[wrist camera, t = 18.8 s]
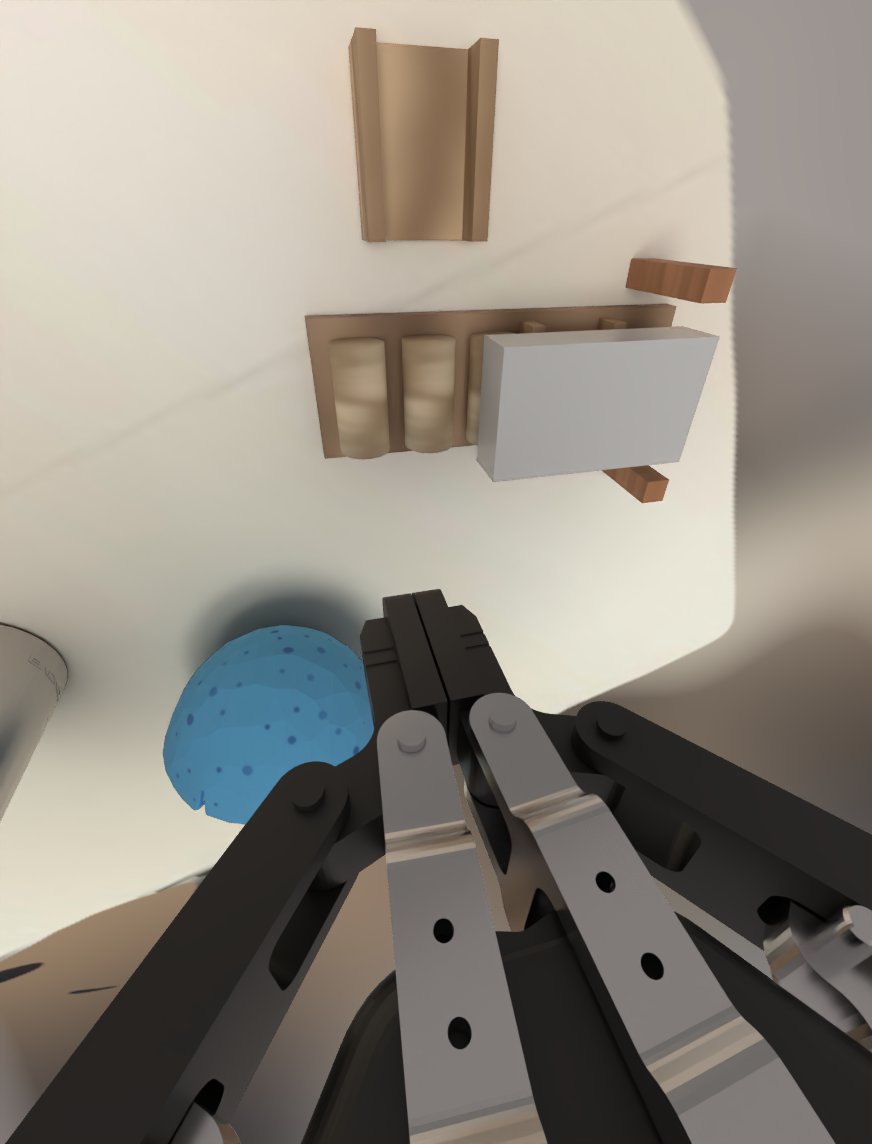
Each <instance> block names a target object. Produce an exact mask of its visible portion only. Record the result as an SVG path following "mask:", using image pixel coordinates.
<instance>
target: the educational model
mask: <svg viewBox="0 0 872 1144" xmlns="http://www.w3.org/2000/svg"><path fill="white" fill-rule="evenodd" d="M373 731H374V726H373V721H372V715H371V709H370V703H369V698H368V692H367V686H366V680H365V673H364V665H363V662H362V661H361V660H360V659H359V658H358V657H357V655H356V654H355V653H354V652H353V651H352V650H351V649H350V648H349V647H347V646H346V645H344V644H343V643H341V642H340V641H338V640H337V639H335V638H334V637H332V636H331V635H329V634H327V633H324V632H321V631H318V630H315V629H312V628H307V627H300V626H291V625H278V626H272V627H266V628H260V629H257V630H254V631H252V632H250V633H248V634H245V635H243V636H241V637H238V638H236V639H234V640H231V641H229V642H227V643H226V644H225V645H224V646H222V647H221V648H220V649H219V650H218V651H216V652H215V653H214V654H213V655H212V656H211V657H209V658H208V659H207V660H206V661H205V662H204V663H203V664H202V665H201V666H200V667H199V668H198V670H197V671H196V672H195V673H194V675H193V676H192V677H191V679H190V680H189V682H188V683H187V685H186V687H185V688H184V690H183V692H182V695H181V697H180V699H179V701H178V703H177V706H176V708H175V710H174V712H173V715H172V718H171V721H170V724H169V727H168V730H167V733H166V736H165V743H164V749H163V758H164V764H165V770H166V772H167V774H168V777H169V779H170V781H171V783H172V785H173V787H174V788H175V790H176V791H177V792H178V794H179V795H180V797H181V798H182V799H183V800H184V801H185V802H186V803H187V804H188V805H189V806H190V807H191V808H192V809H193V810H198V809H200V808H201V807H202V806H203V805H204V804H205V811H206V815H208V816H211V817H214V818H217V819H220V820H223V821H226V822H229V823H238V824H246V823H247V822H248V820H249V819H250V818H251V816H252V815H253V814H254V812H255V811H256V810H257V808H258V807H259V806H260V805H261V803H262V802H263V801H264V799H265V798H266V797H267V795H268V794H269V793H270V791H271V790H272V789H273V787H274V786H275V785H276V783H277V782H278V781H279V780H280V778H281V777H282V776H283V775H284V774H285V773H287V772H288V771H289V770H291V769H292V768H294V767H296V766H298V765H300V764H303V763H306V762H312V761H320V762H326V763H329V764H331V765H333V766H337V765H338V764H340V763H342V762H344V761H346V760H347V759H349V758H351V757H353V756H354V755H356V754H357V753H358V752H360V751H361V750H362V749H363V748H364V747H365V746H366V745H367V743H368V742H369V740H370V739H371V737H372V734H373Z"/></svg>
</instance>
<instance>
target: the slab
mask: <svg viewBox="0 0 872 1144" xmlns="http://www.w3.org/2000/svg"><path fill="white" fill-rule="evenodd" d="M718 340H719V336H715V335H712V334H708V333H705V332H701V331H697V330H694V329H690V328H687V327H683V326H682V327H659V328H636V329H613V330H590V331H568V332H545V333H522V334H499V335H484V349H483V366H482V383H481V399H480V416H479V433H478V450H477V461H478V463H479V464H480V465H481V467H482V468H483V469H484V471H485V472H486V473H487V474H488V476H489V477H490V478H491V480H492V481H493V482H496V481H505V480H515V479H524V478H533V477H543V476H552V475H561V474H571V473H580V472H589V471H599V470H608V469H617V468H627V467H636V466H645V465H655V464H664V463H673V462H679V460H680V457H681V454H682V451H683V448H684V445H685V441H686V438H687V435H688V432H689V429H690V426H691V423H692V420H693V417H694V414H695V411H696V408H697V405H698V402H699V398H700V395H701V392H702V389H703V386H704V383H705V380H706V377H707V374H708V371H709V368H710V365H711V362H712V359H713V355H714V352H715V349H716V346H717V343H718Z"/></svg>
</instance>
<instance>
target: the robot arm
mask: <svg viewBox="0 0 872 1144" xmlns="http://www.w3.org/2000/svg"><path fill="white" fill-rule="evenodd" d="M383 615H384V618H380V619H373V620H367V621H366V622H365V624H364V627H363V630H362V632H361V635H360V640H361V649H362V657H363V665H364V673H365V680H366V686H367V692H368V698H369V703H370V709H371V715H372V721H373V726H374V731H373V734H372V737H371V739H370V740H369V742H368V743H367V745H366V746H365V747H364V748H363V749H362V750H361V751H360V752H358V753H357V754H356V755H354V756H353V757H351V758H349V759H347V760H346V761H344V762H342V763H340V764H338V765H337V766H333V765H331V764H329V763H326V762H320V761H312V762H306V763H303V764H300V765H298V766H296V767H294V768H292V769H291V770H289V771H288V772H287V773H285V774H284V775H283V776H282V777H281V778H280V780H279V781H278V782H277V783H276V785H275V786H274V787H273V789H272V790H271V791H270V793H269V794H268V795H267V797H266V798H265V799H264V801H263V802H262V803H261V805H260V806H259V807H258V808H257V810H256V811H255V812H254V814H253V815H252V816H251V818H250V819H249V820H248V822H247V823H246V824H245V826H244V827H243V828H242V830H241V831H240V832H239V834H238V835H237V836H236V838H235V839H234V840H233V842H232V843H231V844H230V846H229V847H228V848H227V850H226V851H225V852H224V854H223V855H222V856H221V858H220V859H219V860H218V862H217V863H216V864H215V866H214V867H213V868H212V870H211V871H210V872H209V874H208V875H207V876H206V878H205V879H204V880H203V882H202V883H201V884H200V886H199V887H198V888H197V890H196V891H195V892H194V894H193V895H192V896H191V898H190V899H189V900H188V901H187V903H186V904H185V906H184V907H183V908H182V909H181V911H180V912H179V913H178V915H177V916H176V917H175V919H174V920H173V922H172V923H171V924H170V925H169V927H168V928H167V929H166V931H165V932H164V933H163V935H162V936H161V937H160V939H159V940H158V942H157V943H156V944H155V945H154V947H153V948H152V949H151V951H150V952H149V953H148V955H147V956H146V957H145V959H144V960H143V962H142V963H141V964H140V965H139V967H138V968H137V969H136V971H135V972H134V973H133V975H132V976H131V977H130V979H129V980H128V981H127V983H126V984H125V985H124V987H123V988H122V989H121V990H120V992H119V993H118V995H117V996H116V997H115V998H114V1000H113V1001H112V1002H111V1004H110V1005H109V1007H108V1008H107V1009H106V1011H105V1012H104V1013H103V1014H102V1016H101V1017H100V1019H99V1020H98V1021H97V1022H96V1024H95V1025H94V1027H93V1028H92V1029H91V1031H90V1032H89V1033H88V1034H87V1036H86V1037H85V1038H84V1040H83V1041H82V1042H81V1044H80V1045H79V1046H78V1048H77V1049H76V1050H75V1052H74V1053H73V1054H72V1056H71V1057H70V1058H69V1060H68V1061H67V1062H66V1064H65V1065H64V1066H63V1068H62V1069H61V1070H60V1072H59V1073H58V1074H57V1076H56V1077H55V1078H54V1079H53V1081H52V1082H51V1083H50V1085H49V1086H48V1088H47V1089H46V1090H45V1092H44V1093H43V1094H42V1095H41V1097H40V1098H39V1100H38V1101H37V1102H36V1104H35V1105H34V1106H33V1107H32V1109H31V1110H30V1111H29V1113H28V1114H27V1115H26V1117H25V1118H24V1119H23V1121H22V1122H21V1123H20V1125H19V1126H18V1127H17V1129H16V1130H15V1131H14V1133H13V1134H12V1135H11V1137H10V1138H9V1139H8V1141H7V1142H6V1143H5V1144H241V1143H240V1141H239V1138H238V1136H237V1134H236V1133H235V1131H234V1129H233V1128H232V1127H231V1126H230V1125H229V1122H230V1120H231V1118H232V1116H233V1114H234V1112H235V1110H236V1108H237V1106H238V1104H239V1102H240V1101H241V1099H242V1097H243V1095H244V1093H245V1091H246V1089H247V1087H248V1085H249V1083H250V1081H251V1079H252V1077H253V1075H254V1074H255V1072H256V1070H257V1068H258V1066H259V1064H260V1062H261V1060H262V1058H263V1056H264V1055H265V1053H266V1051H267V1049H268V1047H269V1045H270V1043H271V1041H272V1039H273V1037H274V1035H275V1034H276V1031H277V1030H278V1028H279V1026H280V1024H281V1022H282V1020H283V1018H284V1016H285V1014H286V1012H287V1011H288V1009H289V1007H290V1005H291V1003H292V1001H293V999H294V997H295V995H296V993H297V991H298V989H299V988H300V986H301V984H302V982H303V980H304V978H305V976H306V974H307V972H308V970H309V968H310V966H311V964H312V962H313V961H314V959H315V957H316V955H317V953H318V951H319V949H320V947H321V945H322V943H323V941H324V940H325V938H326V936H327V934H328V932H329V930H330V928H331V926H332V924H333V922H334V921H335V919H336V917H337V915H338V913H339V911H340V909H341V907H342V905H343V903H344V901H345V899H346V898H347V896H348V894H349V892H350V890H351V888H352V886H353V884H354V882H355V880H356V878H357V876H358V873H359V872H360V871H362V870H363V869H364V868H366V867H368V866H369V865H370V864H372V863H373V862H375V861H376V860H378V859H379V858H381V857H382V856H384V855H385V854H386V862H387V873H388V886H389V899H390V911H391V922H392V934H393V946H394V958H395V970H394V971H392V972H391V973H390V974H389V975H388V976H387V977H386V978H385V979H384V980H383V981H381V982H380V983H379V984H378V986H377V987H376V988H375V989H374V990H373V991H372V993H371V994H370V995H369V996H368V997H367V999H366V1000H365V1002H364V1004H363V1005H362V1006H361V1008H360V1009H359V1011H358V1012H357V1014H356V1015H355V1017H354V1019H353V1021H352V1023H351V1025H350V1026H349V1029H348V1030H347V1032H346V1034H345V1037H344V1039H343V1042H342V1044H341V1046H340V1048H339V1051H338V1054H337V1056H336V1058H335V1061H334V1063H333V1066H332V1068H331V1071H330V1073H329V1076H328V1078H327V1081H326V1083H325V1086H324V1088H323V1091H322V1093H321V1095H320V1098H319V1100H318V1103H317V1105H316V1108H315V1110H314V1113H313V1115H312V1118H311V1120H310V1123H309V1125H308V1128H307V1130H306V1133H305V1135H304V1138H303V1140H302V1142H301V1144H872V835H871V834H869V833H867V832H865V831H863V830H861V829H860V828H857V827H856V826H854V825H852V824H850V823H848V822H846V821H844V820H842V819H840V818H838V817H836V816H834V815H832V814H830V813H828V812H826V811H824V810H823V809H820V808H819V807H817V806H814V805H813V804H811V803H809V802H807V801H805V800H803V799H801V798H799V797H797V796H795V795H793V794H791V793H789V792H787V791H785V790H783V789H782V788H779V787H778V786H776V785H774V784H772V783H770V782H768V781H766V780H764V779H762V778H760V777H758V776H756V775H754V774H752V773H750V772H748V771H746V770H744V769H742V768H741V767H738V766H737V765H735V764H733V763H731V762H729V761H727V760H725V759H723V758H721V757H719V756H717V755H715V754H713V753H711V752H709V751H708V750H706V749H704V748H702V747H700V746H698V745H696V744H694V743H692V742H690V741H688V740H686V739H684V738H682V737H680V736H678V735H676V734H674V733H672V732H670V731H669V730H667V729H665V728H663V727H661V726H659V725H657V724H655V723H653V722H651V721H649V720H647V719H645V718H643V717H641V716H639V715H637V714H635V713H634V712H631V711H630V710H627V709H626V708H624V707H622V706H619V705H617V704H614V703H611V702H604V701H603V702H601V701H598V702H592V703H589V704H587V705H585V706H583V707H582V708H581V709H580V710H579V712H578V714H577V716H568V715H557V714H547V713H542V712H539V711H536V710H533V709H531V708H530V707H529V706H528V705H527V704H526V703H525V702H524V701H523V700H521V699H520V698H518V697H516V696H515V695H514V694H513V692H512V690H511V688H510V686H509V684H508V682H507V680H506V678H505V676H504V674H503V672H502V670H501V667H500V665H499V663H498V661H497V659H496V657H495V655H494V653H493V651H492V649H491V647H490V646H489V642H488V640H487V638H486V636H485V634H483V630H482V628H481V626H480V624H479V622H478V620H477V617H476V616H475V615H474V614H472V613H471V612H470V611H469V610H468V609H466V608H465V607H464V606H463V605H460V606H453V607H448V606H447V603H446V601H445V598H444V596H443V594H442V592H441V590H440V589H436V590H429V591H422V592H416V593H412V595H411V594H404V595H397V596H390V597H384V598H383ZM67 677H68V676H67V668H66V666H65V663H64V661H63V659H62V658H61V657H60V656H59V654H58V653H57V652H56V651H55V650H54V649H53V648H52V647H50V646H49V645H48V644H47V643H45V642H44V641H42V640H40V639H39V638H37V637H35V636H33V635H31V634H29V633H26V632H24V631H21V630H18V629H16V628H12V627H8V626H4V625H0V822H1V820H2V818H3V815H4V813H5V811H6V809H7V807H8V805H9V803H10V801H11V799H12V797H13V794H14V792H15V790H16V788H17V786H18V784H19V782H20V780H21V778H22V776H23V773H24V771H25V769H26V767H27V765H28V763H29V761H30V759H31V757H32V755H33V752H34V750H35V748H36V746H37V744H38V742H39V740H40V738H41V736H42V734H43V732H44V729H45V727H46V725H47V723H48V721H49V719H50V717H51V715H52V713H53V711H54V708H55V706H56V704H57V702H58V700H59V698H60V696H61V694H62V692H63V689H64V687H65V685H66V681H67ZM456 764H460V766H461V768H462V772H463V775H464V778H465V784H464V793H465V797H466V800H467V803H468V805H469V807H470V810H471V813H472V815H473V818H474V820H475V823H476V825H477V828H478V830H479V833H480V836H481V838H482V840H483V843H484V846H485V848H486V850H487V853H488V856H489V858H490V861H491V863H492V866H493V869H494V871H495V874H496V876H497V879H498V882H499V886H500V890H501V897H502V902H503V907H504V911H505V914H506V918H507V921H508V923H509V927H510V929H511V932H501V931H498V932H497V931H495V928H494V924H493V920H492V916H491V911H490V906H489V902H488V898H487V893H486V890H485V885H484V880H483V876H482V871H481V867H480V863H479V858H478V854H477V850H476V846H475V842H474V839H473V836H472V834H471V832H470V831H469V830H468V829H467V827H466V824H465V820H464V816H463V812H462V807H461V803H460V798H459V793H458V789H457V784H456V780H455V775H454V771H453V766H452V765H456ZM652 876H653V877H654V878H656V879H657V880H659V881H661V882H662V883H664V884H665V885H666V886H668V887H669V888H671V889H672V890H674V891H676V892H677V893H678V894H680V895H681V896H683V897H684V898H686V899H687V900H689V901H690V902H692V903H693V904H695V905H696V906H698V907H699V908H701V909H702V910H704V911H705V912H707V913H709V914H710V915H711V916H713V917H714V918H716V919H717V920H719V921H720V922H722V923H723V924H725V925H726V926H728V927H729V928H731V929H732V930H734V931H735V932H737V933H738V934H740V935H741V936H743V937H744V938H746V939H747V940H749V941H750V942H751V943H753V944H755V945H756V946H758V947H759V948H760V949H762V950H764V951H765V955H766V958H767V961H768V964H769V966H770V972H771V976H772V979H773V980H771V979H770V978H769V977H768V976H766V975H765V974H763V973H762V972H761V971H759V970H758V969H757V968H755V967H754V966H752V965H751V964H750V963H748V962H747V961H745V960H744V959H743V958H741V957H740V956H739V955H737V954H736V953H734V952H733V951H732V950H730V949H729V948H728V947H726V946H725V945H723V944H722V943H720V942H719V941H718V940H716V939H715V938H714V937H712V936H711V935H710V934H708V933H707V932H706V931H704V930H703V929H701V928H700V927H699V926H697V925H696V924H694V923H693V922H691V921H690V920H689V919H687V918H685V917H683V916H682V915H680V914H678V913H676V912H675V911H673V910H672V908H671V906H670V905H669V903H668V902H667V900H666V898H665V897H664V896H663V894H662V892H661V891H660V889H659V888H658V886H657V884H656V883H655V881H654V879H653V878H652Z"/></svg>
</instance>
